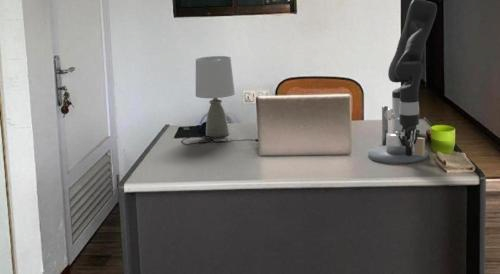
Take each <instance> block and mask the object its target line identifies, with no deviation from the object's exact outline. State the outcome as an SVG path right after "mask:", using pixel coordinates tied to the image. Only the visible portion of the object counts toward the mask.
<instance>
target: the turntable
mask: <svg viewBox="0 0 500 274" xmlns="http://www.w3.org/2000/svg"><path fill="white" fill-rule="evenodd" d="M367 153H368V155H367V156H368V159H369V160H372V161H374V162H377V163H382V164H384V163H385V164H394V165H396V164H397V165H398V164H399V165H400V164H403V165H404V164H413V163H418V162H422V161H424V160H425V161H426V159H428V157H429V151H428V150H427V149H426V138H425V137H419V136H418V138H417V141H416V143H415V144H414V146H413V152H412V156H406V155H392V154H388V153H387V152H386V146H380V145H379V146H376V147H372V148H370V149H369V150H368V152H367Z"/></svg>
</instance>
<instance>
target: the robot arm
mask: <svg viewBox="0 0 500 274" xmlns="http://www.w3.org/2000/svg"><path fill="white" fill-rule="evenodd" d="M437 11H438V4H436V3H435V2H432V1H429V0H411V2H410V3H409V7H408V9H407V14H406V18H405V23H404V27H403V29H402V32H401V35H400V36H399V40H398V44H397V47H396V51H395V53H394V56H393V57H392V59H391V62H390V64H389V68H388V78H389V79H388V80H389V81H390V82H392V83H403V84H402V85H401V86H400V87H397V88H395V89H393V91H392V93H391V97H392V98H391V105H392V106H391V109H392V110H394V111H395V113H396V116H395V118H394V119H392V120H391V121H392V126H391V127H392V128H391V129H392V130H391V132H395V131H397V118H399V123H400V125H402V134H401V135H399V136H398V137H399V139H400V141H401V144H402V146H405V147H406V156H412V152H413V146H415V143H416V141H417V138H418V137H419V135H420V130H419V129H418V128H417V126H418V125H419V124H420V104H419V102H420V101H419V91H420V85H421V80H422V79H423V74H424V66H423V63H422V62H421V60H422V59H423V54H424V52H425V51H424V50H425V46H426V42H427V40H428V38H429V35H430V33H431V30H432V28H433V25H434V22H435V19H436V15H437ZM416 23H418V24H423V26H422V27H421V28H418V27H417V24H416Z"/></svg>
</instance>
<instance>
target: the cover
mask: <svg viewBox="0 0 500 274" xmlns="http://www.w3.org/2000/svg"><path fill="white" fill-rule="evenodd" d="M401 134H402V131H395V132H392V131H390V132H389V131H388V133H387V134H386V152H387V153H388V154H392V155H406V147H405V146H402V144H401V141H400V139H399V137H398V136H399V135H401Z"/></svg>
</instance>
